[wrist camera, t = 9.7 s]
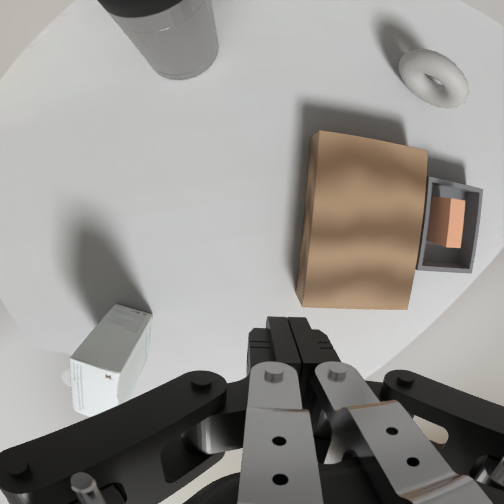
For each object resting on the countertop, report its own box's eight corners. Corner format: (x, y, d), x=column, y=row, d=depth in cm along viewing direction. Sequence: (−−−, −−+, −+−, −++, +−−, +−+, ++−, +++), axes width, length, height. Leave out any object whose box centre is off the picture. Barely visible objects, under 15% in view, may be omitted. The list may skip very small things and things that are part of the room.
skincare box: (115, 302, 41) (65, 351, 27) (156, 313, 42) (119, 371, 27) (111, 352, 43) (69, 411, 28) (149, 364, 43) (117, 429, 29)
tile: (450, 198, 33) (465, 200, 33) (426, 195, 39) (440, 197, 39) (446, 247, 34) (460, 248, 34) (422, 239, 40) (436, 240, 40)
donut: (444, 102, 37) (485, 87, 27) (437, 118, 37) (479, 106, 27) (392, 58, 35) (426, 32, 26) (383, 75, 36) (417, 50, 26)
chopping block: (310, 136, 38) (319, 130, 33) (409, 153, 38) (427, 151, 33) (295, 293, 42) (302, 307, 37) (391, 297, 42) (407, 309, 37)
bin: (414, 176, 39) (428, 176, 35) (466, 188, 39) (482, 189, 35) (403, 263, 41) (417, 270, 37) (456, 266, 42) (471, 273, 38)
